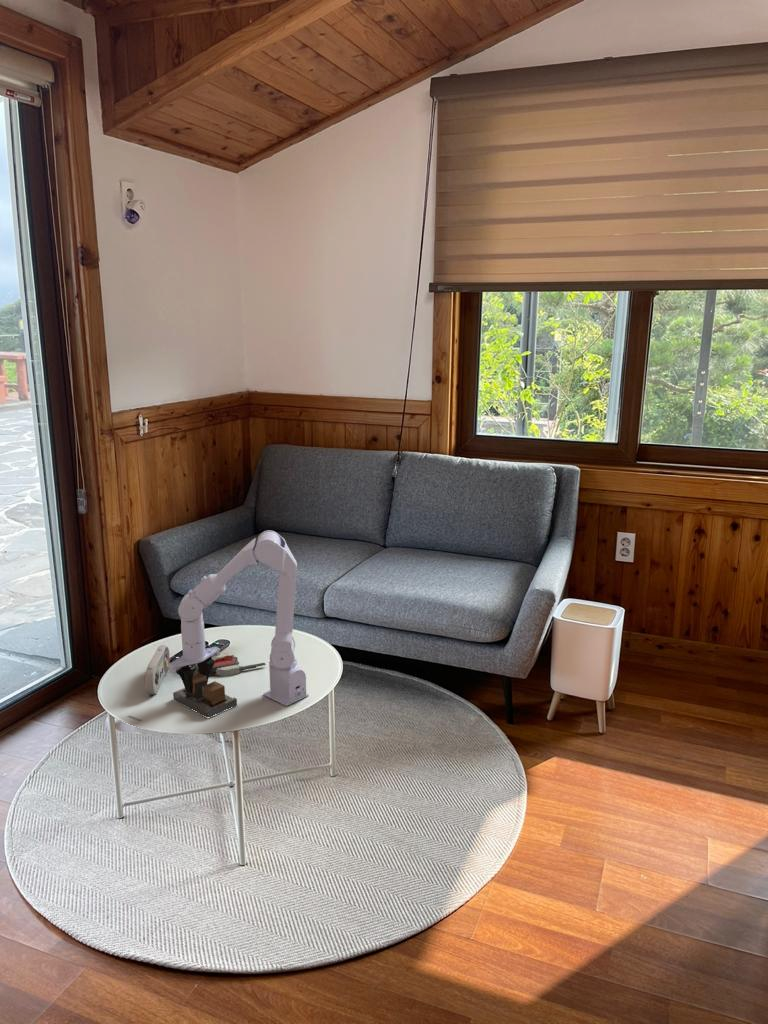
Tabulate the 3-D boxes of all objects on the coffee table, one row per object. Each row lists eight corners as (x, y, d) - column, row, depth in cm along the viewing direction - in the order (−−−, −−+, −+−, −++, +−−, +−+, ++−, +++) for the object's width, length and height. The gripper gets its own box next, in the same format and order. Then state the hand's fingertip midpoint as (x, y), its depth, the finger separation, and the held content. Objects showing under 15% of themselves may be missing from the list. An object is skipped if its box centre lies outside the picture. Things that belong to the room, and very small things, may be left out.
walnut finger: (208, 697, 202) (207, 676, 200) (196, 703, 199) (194, 682, 197) (198, 692, 205) (197, 671, 203) (185, 697, 202) (184, 676, 200)
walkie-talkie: (196, 683, 211) (266, 669, 219) (195, 668, 210) (266, 655, 218) (189, 670, 219) (258, 658, 227) (188, 656, 218) (257, 644, 226)
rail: (237, 705, 198) (236, 684, 197) (208, 718, 192) (206, 696, 190) (202, 687, 208) (201, 667, 206) (173, 699, 201) (172, 678, 200)
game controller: (155, 699, 202) (152, 670, 199) (146, 700, 201) (143, 670, 199) (171, 667, 220) (169, 640, 218) (163, 667, 220) (161, 640, 218)
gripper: (207, 627, 206) (210, 674, 209) (160, 644, 195) (163, 693, 199) (223, 634, 201) (226, 682, 205) (176, 652, 191) (179, 702, 194)
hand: (196, 688), depth 201 cm, fingers closed on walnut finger, 4 cm apart
